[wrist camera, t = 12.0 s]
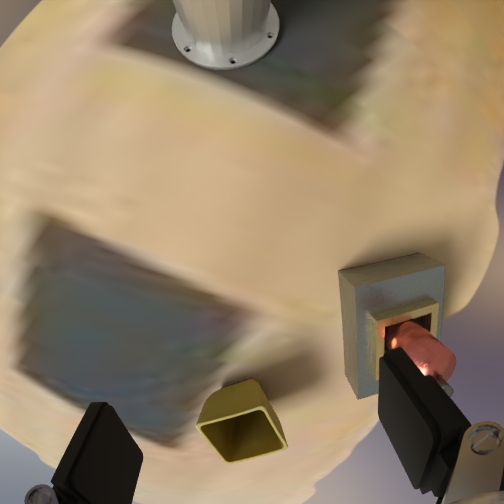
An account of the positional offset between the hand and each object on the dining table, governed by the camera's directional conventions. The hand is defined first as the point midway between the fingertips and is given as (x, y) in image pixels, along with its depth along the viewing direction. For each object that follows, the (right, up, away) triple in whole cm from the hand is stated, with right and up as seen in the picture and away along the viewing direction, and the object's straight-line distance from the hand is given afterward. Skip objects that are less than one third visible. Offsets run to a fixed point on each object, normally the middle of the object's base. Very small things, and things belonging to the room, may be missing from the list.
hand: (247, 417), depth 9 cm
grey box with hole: (+18, -3, +30) cm, 35 cm away
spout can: (+18, -3, +28) cm, 33 cm away
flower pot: (-1, -15, +32) cm, 35 cm away
